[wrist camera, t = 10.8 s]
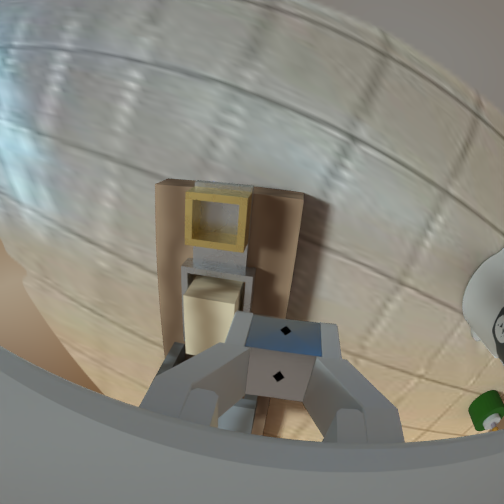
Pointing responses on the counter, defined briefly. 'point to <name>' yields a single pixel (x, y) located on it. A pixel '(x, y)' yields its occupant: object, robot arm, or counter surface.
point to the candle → (487, 411)
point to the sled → (218, 235)
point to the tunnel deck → (265, 286)
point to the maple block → (209, 311)
